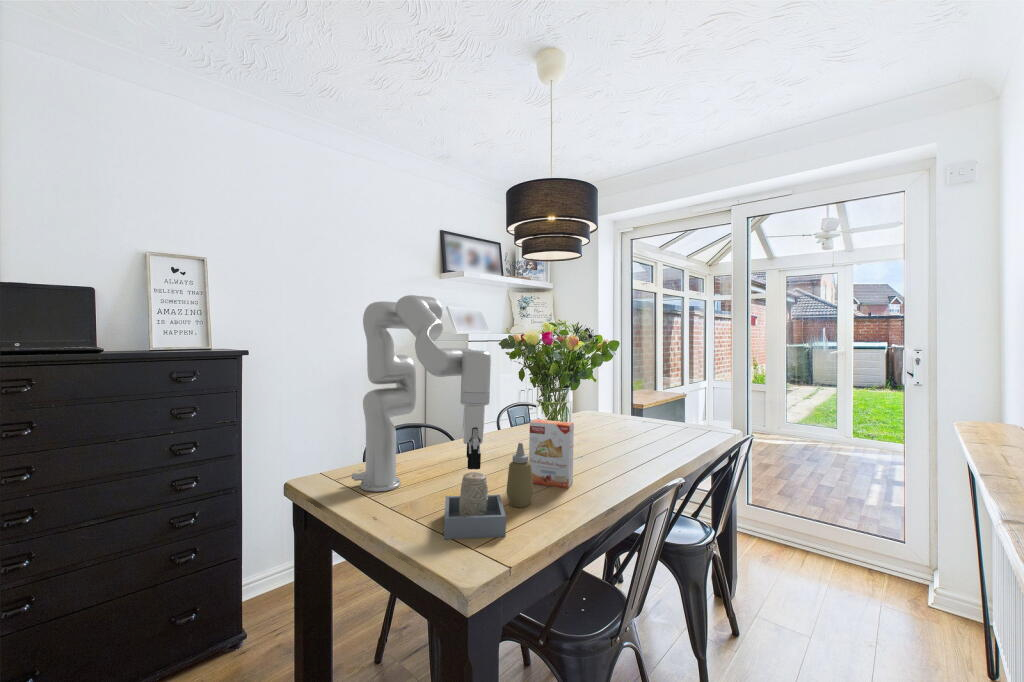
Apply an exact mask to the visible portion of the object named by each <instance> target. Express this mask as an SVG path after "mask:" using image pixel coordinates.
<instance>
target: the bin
mask: <svg viewBox="0 0 1024 682" xmlns="http://www.w3.org/2000/svg"><path fill="white" fill-rule="evenodd" d="M459 502H460V495H451V496H450V495H449V496H445V504H444V517H443V518H444V519H443V520H444V523H443V529H444V530H443V540H455V539H456V540H457V539H463V540H464V539H478V538H479V539H482V538H483V539H484V538H503V537H505V538H506V535H507V531H506V529H507V527H506V525H507V523H506V522H507V516H506V512H505V508H504V504H503V501H502V496H501V495H500V494H488V502H487V508H486V513H485V516H460V511H459Z"/></svg>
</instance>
